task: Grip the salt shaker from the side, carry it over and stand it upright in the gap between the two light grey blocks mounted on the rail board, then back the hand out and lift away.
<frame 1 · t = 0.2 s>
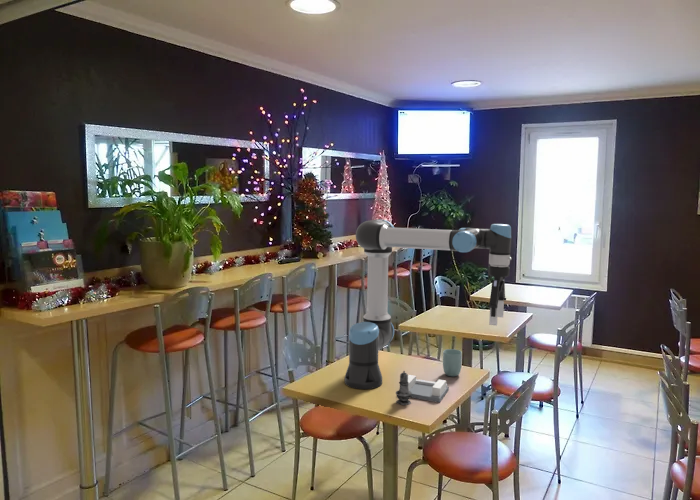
hand: (496, 320, 199), 28 cm above the table, tool pointing down, fingers open, 13 cm apart
cup: (451, 375, 220), on the table
salt shaker: (403, 402, 192), on the table
rail board: (423, 392, 201), on the table
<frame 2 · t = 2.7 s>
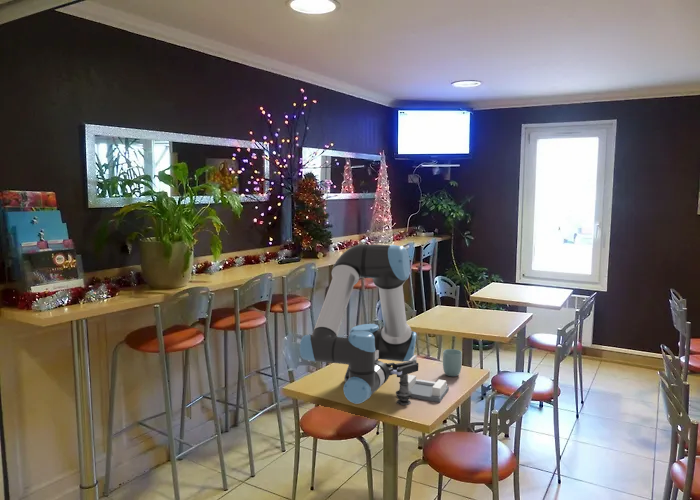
hand: (396, 356, 181), 20 cm above the table, tool horizontal, fingers open, 13 cm apart
nothing on the table moved.
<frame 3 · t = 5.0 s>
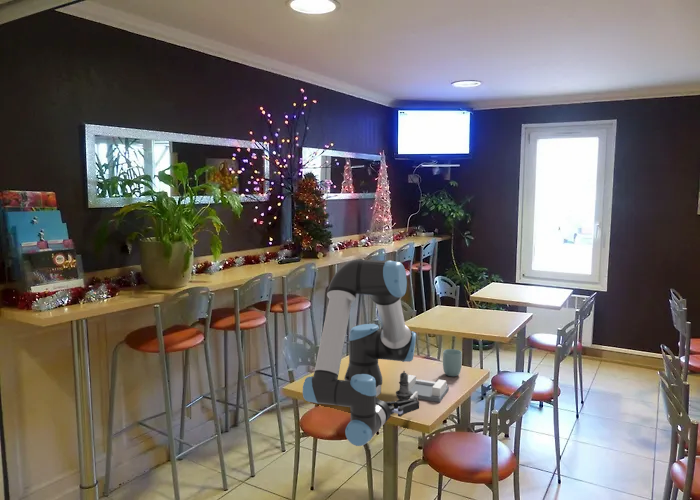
hand: (398, 391, 185), 6 cm above the table, tool horizontal, fingers open, 13 cm apart
nothing on the table moved.
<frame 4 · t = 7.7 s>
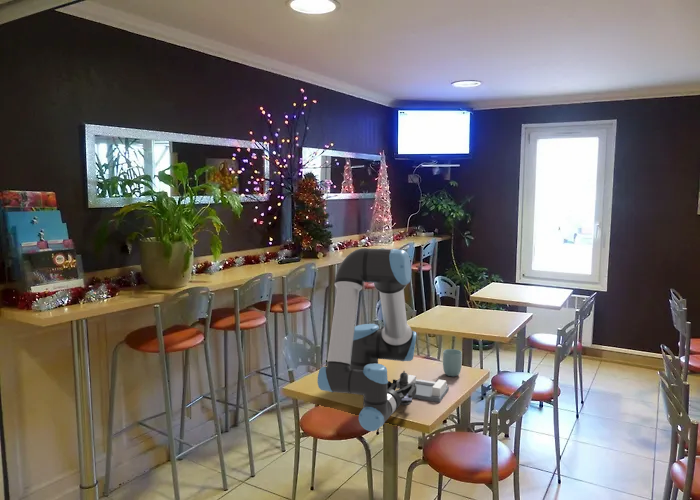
hand: (408, 380, 196), 7 cm above the table, tool horizontal, fingers closed on salt shaker, 3 cm apart
salt shaker: (403, 402, 192), on the table, touching gripper
everything else where it was.
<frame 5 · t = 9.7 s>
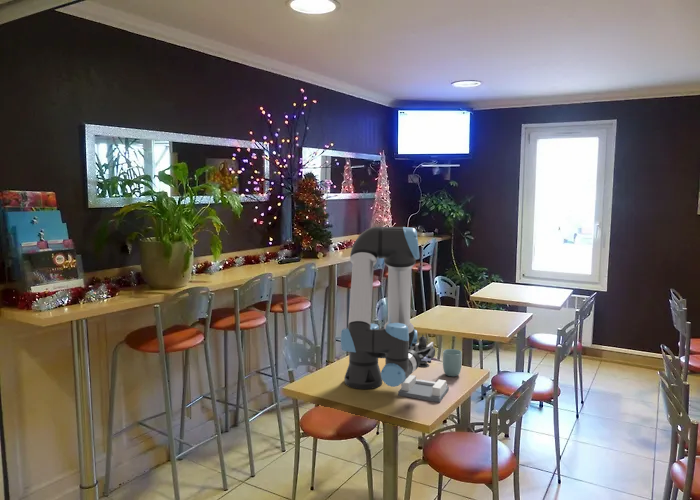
hand: (426, 344, 202), 18 cm above the table, tool horizontal, fingers closed on salt shaker, 3 cm apart
salt shaker: (422, 365, 198), point 11 cm above the table, touching gripper
everything else where it was.
when the fingers open (9 cm above the table, at t = 11.7 s): salt shaker drops 1 cm, resting on rail board.
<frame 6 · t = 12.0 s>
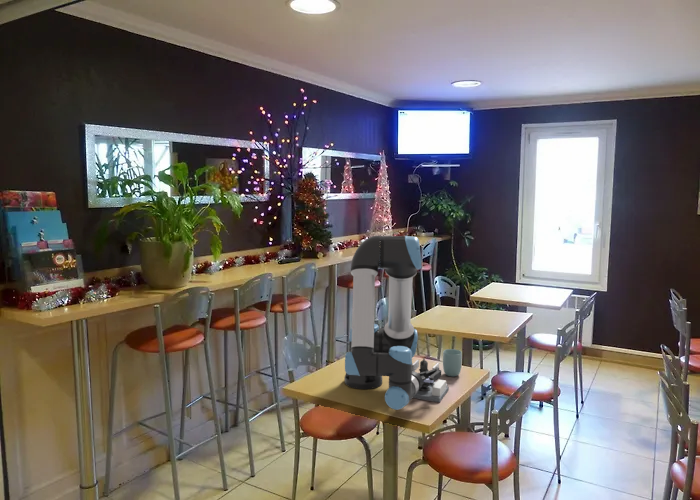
hand: (427, 364, 204), 10 cm above the table, tool horizontal, fingers open, 7 cm apart
salt shaker: (423, 389, 201), point 1 cm above the table, touching rail board
everything else where it was.
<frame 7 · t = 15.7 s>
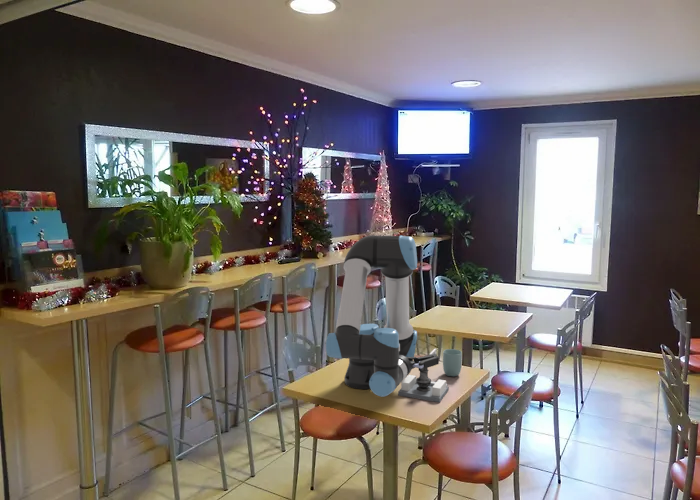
hand: (416, 349, 189), 20 cm above the table, tool horizontal, fingers open, 13 cm apart
nothing on the table moved.
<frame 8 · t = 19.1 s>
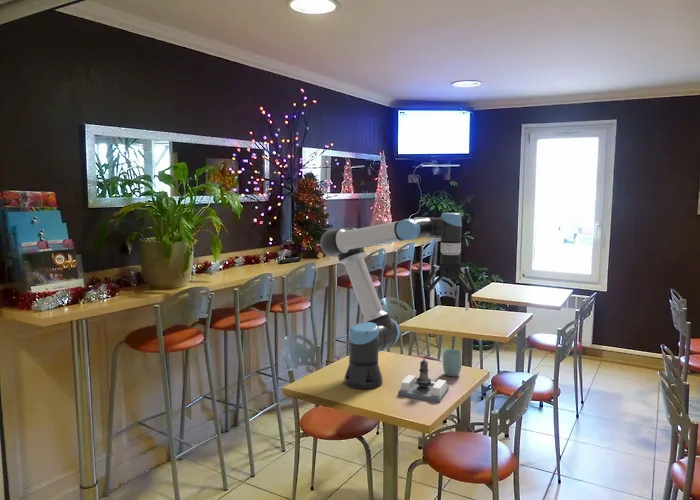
hand: (449, 308, 202), 32 cm above the table, tool pointing down, fingers open, 13 cm apart
nothing on the table moved.
at the end: salt shaker 0.1 cm off-centre on the rail board, point 1.3 cm above the rail board's base; salt shaker tilted 0°; the gripper is holding nothing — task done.
